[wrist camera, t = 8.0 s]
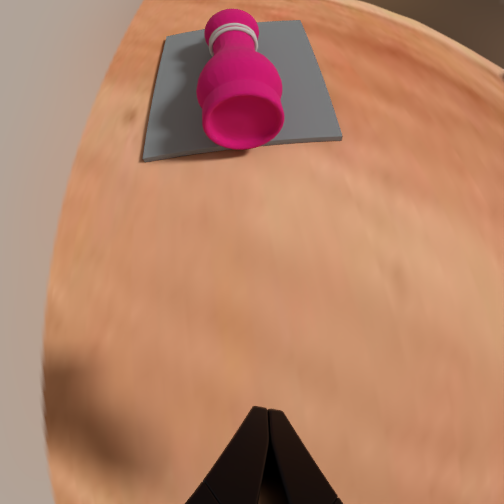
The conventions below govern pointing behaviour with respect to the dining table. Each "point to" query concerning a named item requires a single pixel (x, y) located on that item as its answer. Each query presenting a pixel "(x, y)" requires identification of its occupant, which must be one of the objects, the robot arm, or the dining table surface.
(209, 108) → the pepper mill
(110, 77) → the dining table surface
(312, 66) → the mat
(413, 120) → the dining table surface
